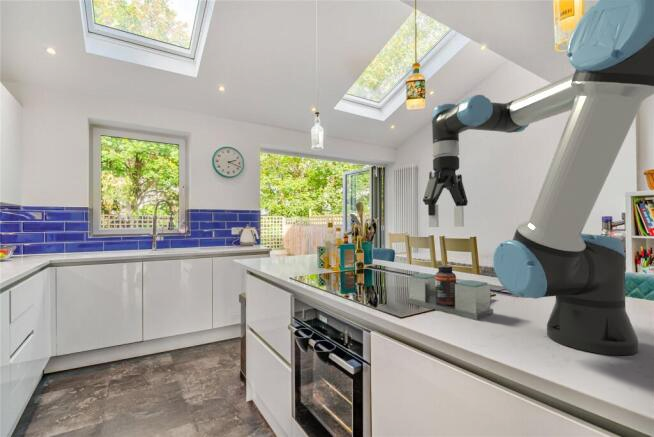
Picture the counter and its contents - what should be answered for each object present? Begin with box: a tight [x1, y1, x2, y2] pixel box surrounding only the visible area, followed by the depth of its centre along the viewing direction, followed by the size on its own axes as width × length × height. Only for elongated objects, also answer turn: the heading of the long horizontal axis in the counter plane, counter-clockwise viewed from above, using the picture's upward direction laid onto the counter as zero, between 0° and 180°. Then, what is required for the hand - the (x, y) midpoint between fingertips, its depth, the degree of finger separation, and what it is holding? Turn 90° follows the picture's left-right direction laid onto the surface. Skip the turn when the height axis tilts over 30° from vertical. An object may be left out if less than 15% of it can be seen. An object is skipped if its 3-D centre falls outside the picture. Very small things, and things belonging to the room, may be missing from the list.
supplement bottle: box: [434, 264, 457, 305], centre depth 95 cm, size 6×6×11 cm
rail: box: [406, 273, 494, 321], centre depth 95 cm, size 23×9×9 cm, turn 37°
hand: (446, 227), depth 95 cm, fingers open, 13 cm apart
